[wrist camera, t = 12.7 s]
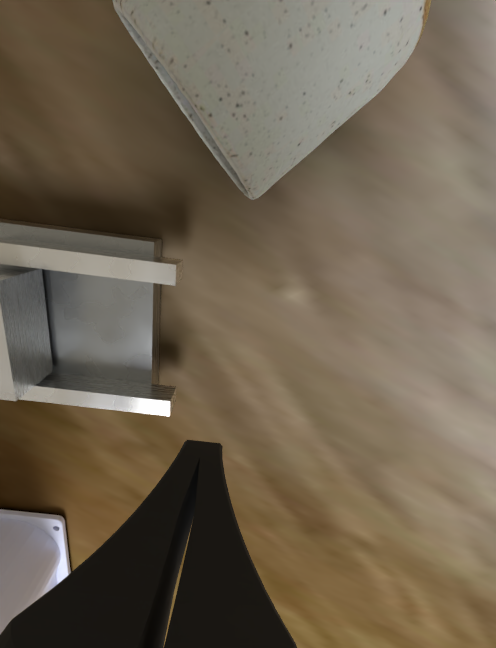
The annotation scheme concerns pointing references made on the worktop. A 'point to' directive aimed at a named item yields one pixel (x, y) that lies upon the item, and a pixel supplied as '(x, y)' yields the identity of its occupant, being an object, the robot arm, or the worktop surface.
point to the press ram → (22, 331)
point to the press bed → (98, 314)
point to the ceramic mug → (272, 70)
